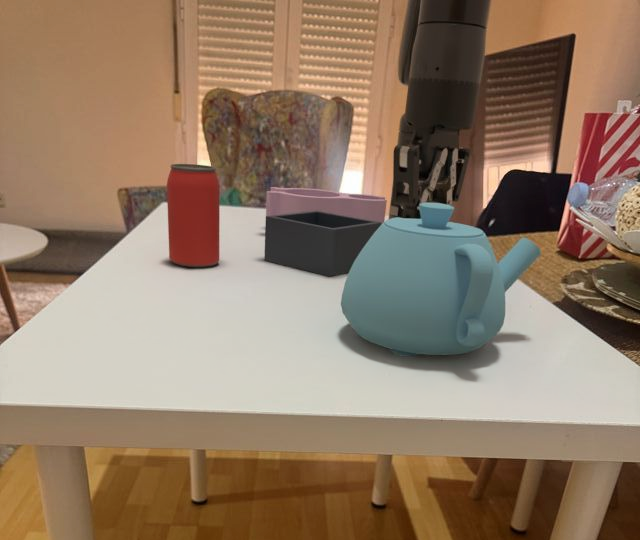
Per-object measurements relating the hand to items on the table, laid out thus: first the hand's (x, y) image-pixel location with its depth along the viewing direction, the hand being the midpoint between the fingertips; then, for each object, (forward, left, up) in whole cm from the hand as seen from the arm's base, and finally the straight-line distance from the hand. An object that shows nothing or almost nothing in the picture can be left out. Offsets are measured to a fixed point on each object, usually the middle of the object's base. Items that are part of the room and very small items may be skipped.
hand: (421, 241), depth 74 cm
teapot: (+13, +10, -7) cm, 18 cm away
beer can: (+10, -28, -7) cm, 30 cm away
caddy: (-5, -18, -6) cm, 20 cm away
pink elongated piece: (-23, -31, -7) cm, 39 cm away
